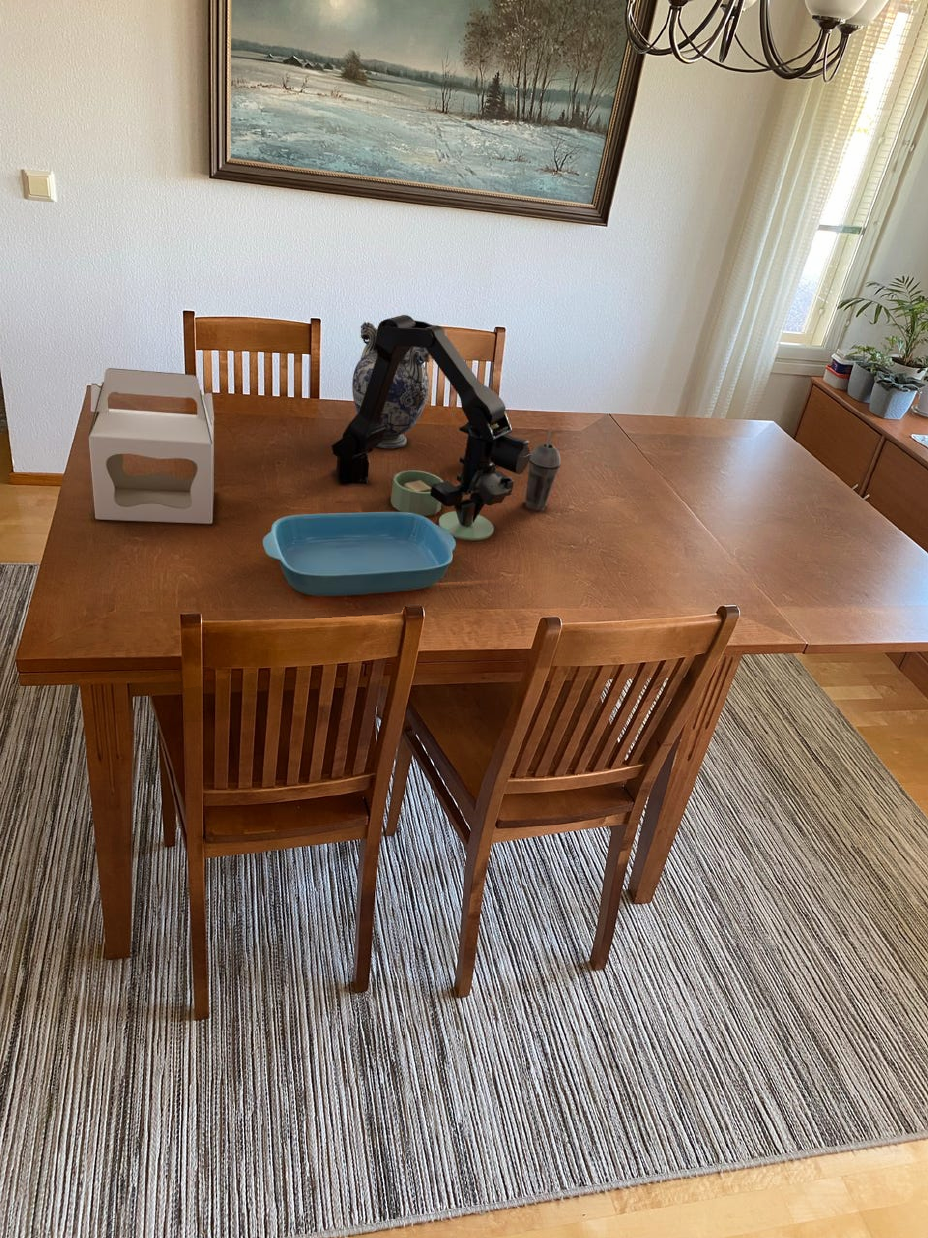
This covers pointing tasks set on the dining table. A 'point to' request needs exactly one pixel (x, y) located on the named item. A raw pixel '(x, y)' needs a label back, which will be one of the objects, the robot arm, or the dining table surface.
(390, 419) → the decorative vase
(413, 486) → the block
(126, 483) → the gable box
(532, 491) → the beverage cup
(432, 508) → the pot
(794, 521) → the dining table surface
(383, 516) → the casserole dish
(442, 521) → the lid
